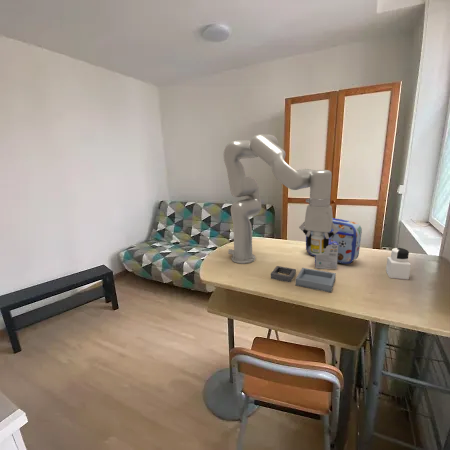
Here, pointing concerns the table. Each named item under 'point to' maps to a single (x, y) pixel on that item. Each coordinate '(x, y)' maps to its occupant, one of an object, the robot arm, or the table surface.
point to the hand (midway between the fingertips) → (317, 245)
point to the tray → (316, 279)
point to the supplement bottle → (317, 243)
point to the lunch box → (344, 240)
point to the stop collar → (281, 277)
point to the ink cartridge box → (328, 257)
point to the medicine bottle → (398, 264)
